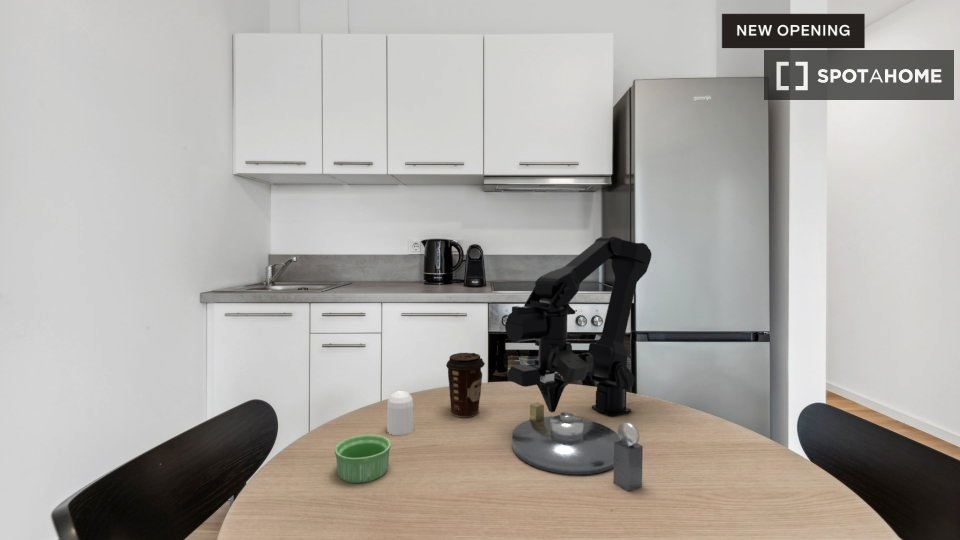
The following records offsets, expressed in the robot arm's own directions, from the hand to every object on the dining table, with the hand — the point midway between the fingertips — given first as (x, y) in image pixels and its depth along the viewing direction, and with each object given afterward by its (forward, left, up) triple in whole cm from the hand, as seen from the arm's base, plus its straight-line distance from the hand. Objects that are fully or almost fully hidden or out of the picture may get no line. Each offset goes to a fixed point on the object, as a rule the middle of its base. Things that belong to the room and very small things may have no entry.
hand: (551, 411), depth 91 cm
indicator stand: (+4, +23, -3) cm, 24 cm away
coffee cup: (+12, -16, -4) cm, 20 cm away
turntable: (+4, +9, -3) cm, 10 cm away
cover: (+4, +9, -1) cm, 10 cm away
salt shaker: (+28, -14, -4) cm, 31 cm away
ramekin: (+39, -1, -4) cm, 39 cm away
